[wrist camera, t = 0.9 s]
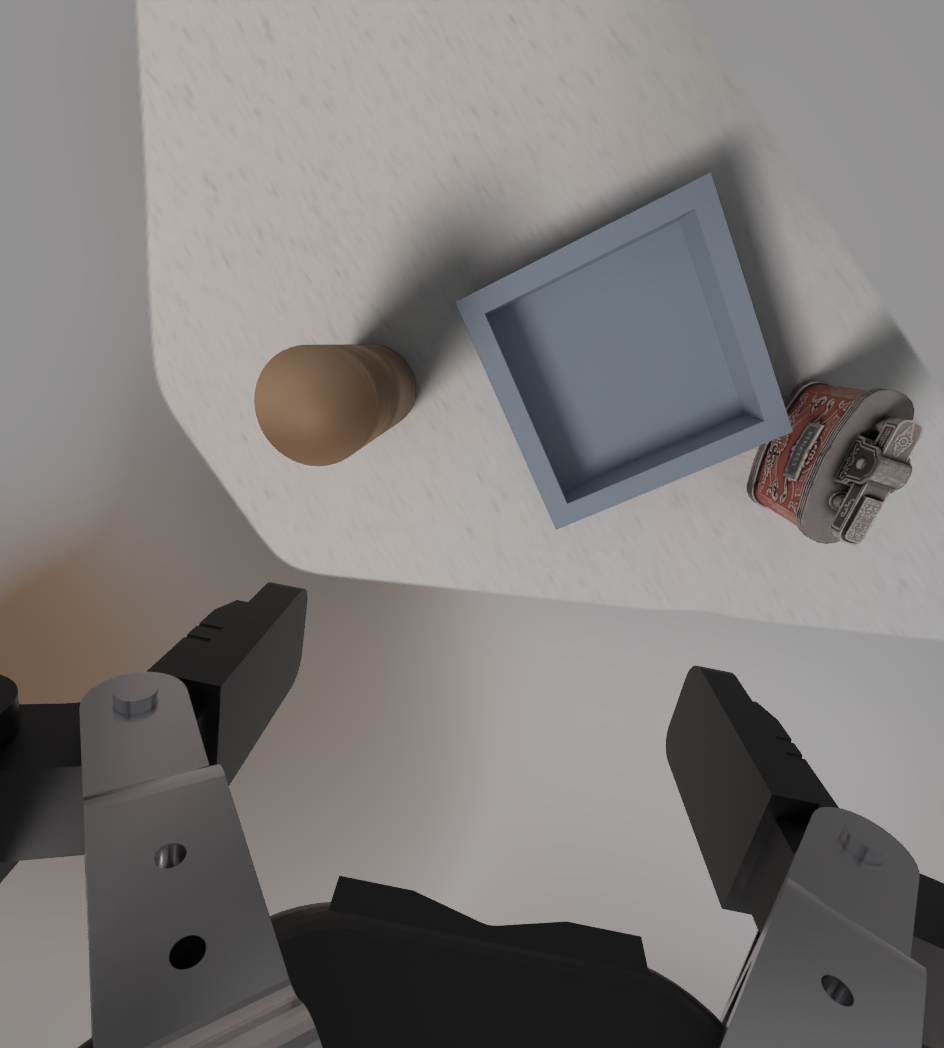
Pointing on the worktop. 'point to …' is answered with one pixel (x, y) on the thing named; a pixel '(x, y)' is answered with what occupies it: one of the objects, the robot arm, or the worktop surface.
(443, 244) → the worktop surface
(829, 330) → the worktop surface
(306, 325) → the worktop surface
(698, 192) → the tray
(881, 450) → the lighter
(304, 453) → the canister
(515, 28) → the worktop surface
